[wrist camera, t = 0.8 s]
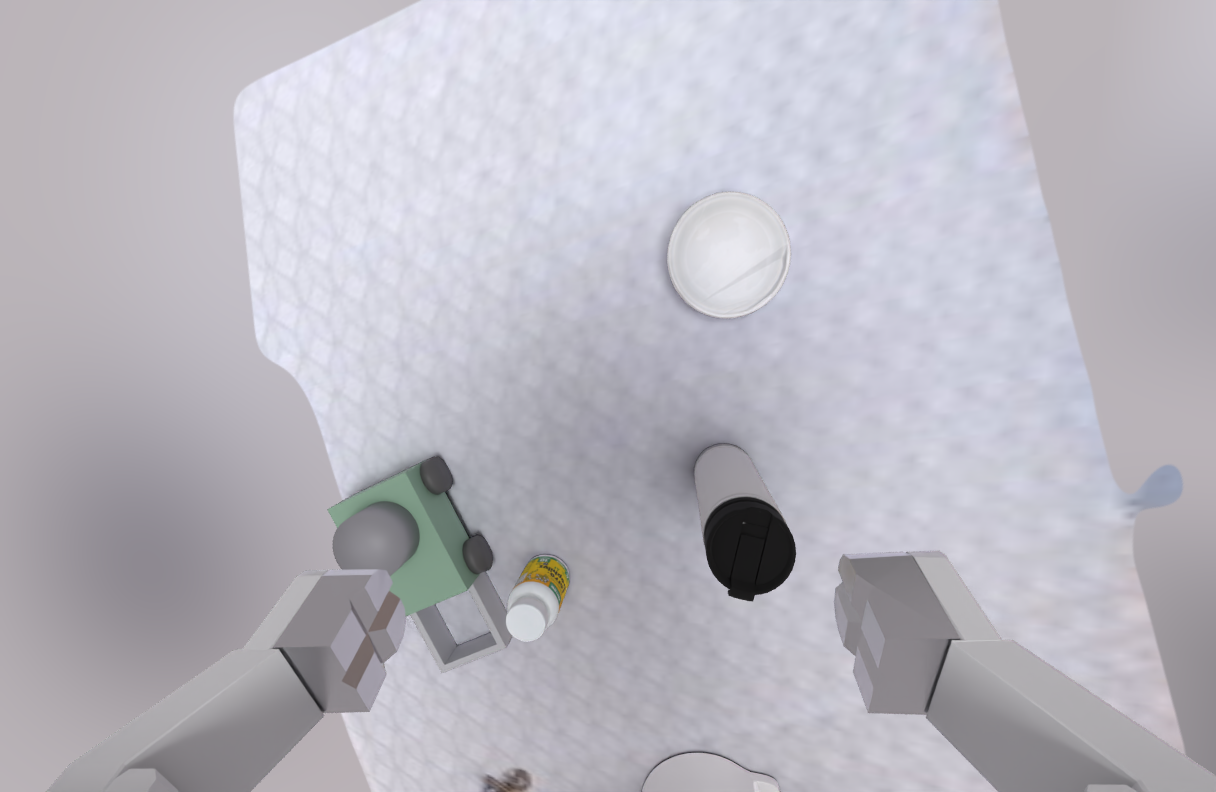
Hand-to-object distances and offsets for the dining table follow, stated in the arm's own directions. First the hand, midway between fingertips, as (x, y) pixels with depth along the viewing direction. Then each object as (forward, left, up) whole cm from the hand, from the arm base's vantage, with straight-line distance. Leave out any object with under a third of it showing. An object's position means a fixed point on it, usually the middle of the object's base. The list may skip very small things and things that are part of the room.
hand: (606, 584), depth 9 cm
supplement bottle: (-16, +22, -46) cm, 53 cm away
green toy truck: (-10, +33, -46) cm, 57 cm away
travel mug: (-13, -1, -46) cm, 48 cm away
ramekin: (+7, -10, -46) cm, 48 cm away
